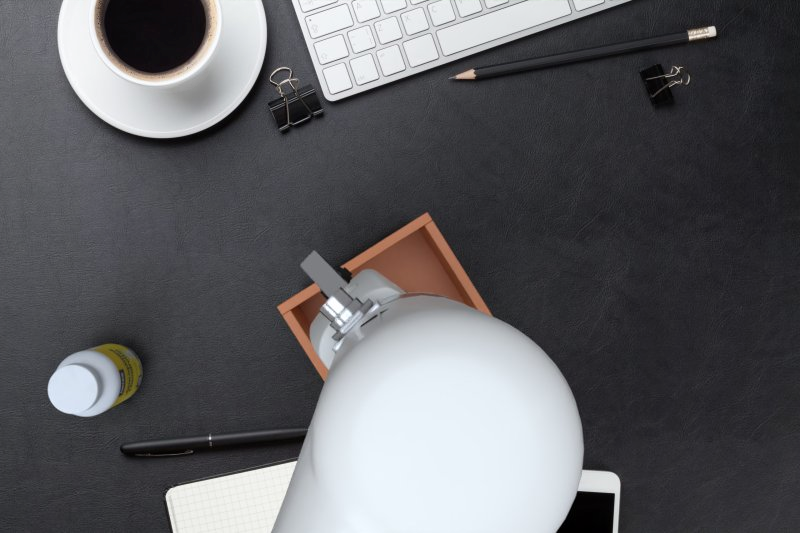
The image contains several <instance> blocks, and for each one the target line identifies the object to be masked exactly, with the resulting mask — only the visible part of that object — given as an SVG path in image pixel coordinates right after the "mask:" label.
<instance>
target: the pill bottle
mask: <svg viewBox="0 0 800 533" xmlns="http://www.w3.org/2000/svg"><path fill="white" fill-rule="evenodd" d="M143 374H144V372H143V365H142V362H141V359H140V358H139V356H138V355H137V354H136V353H135V351H134V350H132V349H131V347H128V346H126V345H123V344H122V343H121V344H120V343H115V342H114V343H110V342H109V343H105V344H100V345H98V346H94V347H90V348H86V349H84V350H79V351H77V352H74V353H72V354H70V355H68V356H67V357H65V358H64V359H63V360H61V362H60V364H59V365H58V366H57V368H56V369H55V371H54V372H53V374H52V375H51V377H50V378H49V381H48V384H47V395H48V398H49V401H50V403H51V404H52V406H54V407H55V408H56V409H57V410H58V411H60V412H62V413H64V414H68V415H74V416H77V417H85V418H87V417H95V416H98V415H100V414H102V413H104V412H106V411H108V410H110V409H112V408H114V407H115V406H117V405H119V404H121V403H123V402H125V401H126V400H128V399H130V398H131V397H132V396H133V395H135V393H136V392H137V391H138V389H139V388H140V385H141V384H142V380H143Z"/></svg>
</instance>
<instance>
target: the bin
mask: <svg viewBox="0 0 800 533" xmlns="http://www.w3.org/2000/svg"><path fill="white" fill-rule="evenodd" d="M340 267H342V268H344V267H346V268H347V269H348V270H349V271H350V272H351V273H352V275H351V277H352V278H354V277H355V276H356V275H357V274H359V273H360V272H361V271H362V270H366V269H373V270H375V271H377V272H379V273H380V274H381V275H383V276H384V277H386V278H387V279H389V280H390V281H391V282H393V283H394V284H396V285H397V286H398V287H400V288H401V289H402V290H404V291H408V292H426V293H434V294H439V295H443V296H446V297H449V298H452V299H454V300H456V301H458V302H460V303H463V304H465V305H467V306H470V307H472V308H474V309H476V310H479V311H481V312H483V313H485V314H488V315H490V316H492V317H494V316H493V314H492V313H491V311H490V309H489V308H488V306H487V305H486V303H485V301H484V299H483V298H482V296H481V295H480V293H479V291H478V290H477V288H476V287H475V286H474V284H473V282H472V281H471V279H470V278H469V276H468V274H467V273H466V271H465V269H464V268H463V266H462V265H461V263H460V261H459V260H458V258H457V257H456V255H455V254H454V251H453V250H452V249H451V247H450V245H449V244H448V243H447V241H446V239H445V237H444V236H443V234H442V233H441V231H440V230H439V228H438V227H437V225H436V222H434V220H433V218H432V217H431V215H430V214H429V213H428V211H427V212H425V213H423V214H421V215H420V216H419V217H417V218H415V219H413V220H412V221H410V222H409V223H407V224H406V225H404V226H403V227H400V229H398V230H396V231H395V232H393V233H391V234H390V235H388V236H387V237H384V238H383V239H382V240H380V241H379V242H377V243H375V244H374V245H372V246H371V247H369V248H368V249H366V250H365V251H363V252H361V253H359V254H358V255H356V256H355V257H354V258H352V259H350V260H348V261H347V262H345V263H344V264H342V265H340ZM320 292H321V290H320V288H319V286H318V285H317V284H316V283H315V282H314V283H312V284H310V285H309V286H307V287H305V288H304V289H302V290H301V291H299V292H297V293H296V294H295V295H293V296H291V297H290V298H287V300H285V301H283V302H281V303H280V304H279V305H277V306H276V307H277V310H278V311H279V313H280V314H281V315H282V317H283V319H284V321H285V322H286V324H287V325H288V327H289V328H290V331H291V332H292V333H293V335H294V336H295V338H296V339H297V342H298V343H299V344H300V346H301V347H302V349H303V351H304V352H305V354H306V355H307V357H308V358H309V360H310V362H311V363H312V365H313V367H314V368H315V369H316V371H317V372H318V374H319V375H320V377H321V379H322V380H323V382H324V383H325V380H326V378H327V375H328V372H329V370H328V369H327V368H326V366H325V365H324V364H323V362H322V361H321V360H320V358H319V357H318V355H317V354H316V352H315V350H314V348H313V346H312V344H311V340H310V326H311V323H312V322H313V320H314V319H315V318H316V316H317V315H318V314H319V313H320V311H319V309H320V308H321V307H322V306H323V305H324V304H325V303H326V302H327V301H328V300H329V299H328V300H327V299H326V298H325V297H324V296H323V295H322V294H321V293H320Z"/></svg>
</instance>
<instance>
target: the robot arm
mask: <svg viewBox="0 0 800 533" xmlns="http://www.w3.org/2000/svg"><path fill="white" fill-rule="evenodd" d="M298 266H299V267H300V268H301V269H302V270H303V271H304V272H305V274H307V276H308V277H309V278H310V279H311V280H312V281H313V282H314V283H316V284H317V285H318V286H319V288H320V290H321V292H320V293H321V294H322V295H323V296H324V297H325V298H326V299H327V300H328V299H329V300H328V301H327V302H326V303H325V304H324V305H323V306H322V307H321V308H320V309H319V311H320V313H319V314H318V315H317V316H316V318H315V319H314V320H313V322H312V323H311V326H310V340H311V344H312V346H313V348H314V350H315V352H316V354H317V355H318V357H319V358H320V360H321V361H322V362H323V364H324V365H325V366H326V368H327V369H328V370H329V372H328V375H327V378H326V380H325V382H324V383H323V386H322V387H321V388H322V389H321V391H320V394H319V397H318V401H317V403H316V406H315V410H314V412H313V415H312V418H311V421H310V423H309V427H308V430H307V432H306V435H305V438H304V440H303V444H302V446H301V448H300V449H301V450H300V452H299V455H298V458H297V460H296V463H295V466H294V469H293V472H292V475H291V477H290V481H289V483H288V486H287V489H286V491H285V495H284V497H283V500H282V503H281V505H280V508H279V511H278V512H277V513H278V514H277V516H276V518H275V521H274V523H273V527H272V529H271V530H270V533H557V532H558V530H559V529H560V528H561V526H562V524H563V523H564V522H565V520H566V519H567V516H568V514H569V512H570V511H571V508H572V505H573V504H574V501H575V499H576V497H577V493H578V489H579V486H580V482H581V480H582V474H583V466H584V454H585V444H584V433H583V432H584V431H583V425H582V421H581V417H580V414H579V409H578V405H577V402H576V401H577V400H576V399H575V396H574V394H573V392H572V389H571V387H570V386H569V383H568V381H567V379H566V378H565V376H564V374H563V373H562V372H561V370H560V368H559V367H558V366H557V364H556V363H555V362H554V360H552V358H551V357H549V356H550V355H548V354H547V353H546V352H545V350H543V349H542V347H541V346H539V345H538V344H537V343H536V342H535V341H534V340H532V339H531V338H530V337H529V336H527V335H526V334H525V333H523V332H521V331H520V330H519V329H518V328H516V327H514V326H512V325H511V324H509V323H507V322H506V321H504V320H501V319H499V318H497V317H494V316H493V315H492V316H493V317H492V316H490V315H488V314H485V313H483V312H481V311H479V310H476V309H474V308H472V307H470V306H467V305H465V304H463V303H460V302H458V301H456V300H454V299H452V298H449V297H446V296H443V295H439V294H434V293H426V292H411V293H406V292H405V291H404V290H402V289H401V288H400V287H398V286H397V285H396V284H394V283H393V282H391V281H390V280H389V279H387V278H386V277H384V276H383V275H381V274H380V273H379V272H377V271H375V270H373V269H366V270H362V271H361V272H360V273H359V274H357V275H356V276H355V277H354V278H352V277H351V275H352V273H351V272H350V271H349V270H348V269H347V268H346V267H344V268H342V267H341V266H339V265H338V266H337V267H334V265H333V264H332V263H331V262H329V261H328V260H327V259H326V258H325V257H324V256H322V255H321V253H320V252H318V251H317V250H316V249H313V250H311V252H310V253H309V254H308V255H307V256H306V257H305V258H304V259H303V260H302V261H301V262H300V263H299V264H298Z"/></svg>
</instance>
